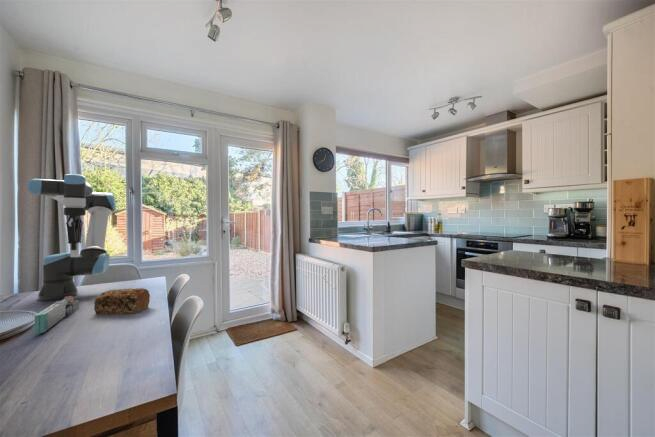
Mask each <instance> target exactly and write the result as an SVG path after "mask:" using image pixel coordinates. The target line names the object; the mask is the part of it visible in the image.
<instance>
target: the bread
mask: <svg viewBox="0 0 655 437" xmlns="http://www.w3.org/2000/svg"><path fill="white" fill-rule="evenodd" d="M150 297H151V296H150V291H149V290H148V289H147V288H143V287H142V288H141V287H140V288H138V287H137V288H120V289H118V288H117V289H112V290H106V291H104V292H102V293H100V294H99V295H98V296H96V298H95V299H94V308H93V309H94V312H95V313H94V314H96V315H120V314H121V315H130V314H137V313H141V312H142V311H145V309H148V308H149V304H150V301H151V300H150V299H151V298H150Z"/></svg>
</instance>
